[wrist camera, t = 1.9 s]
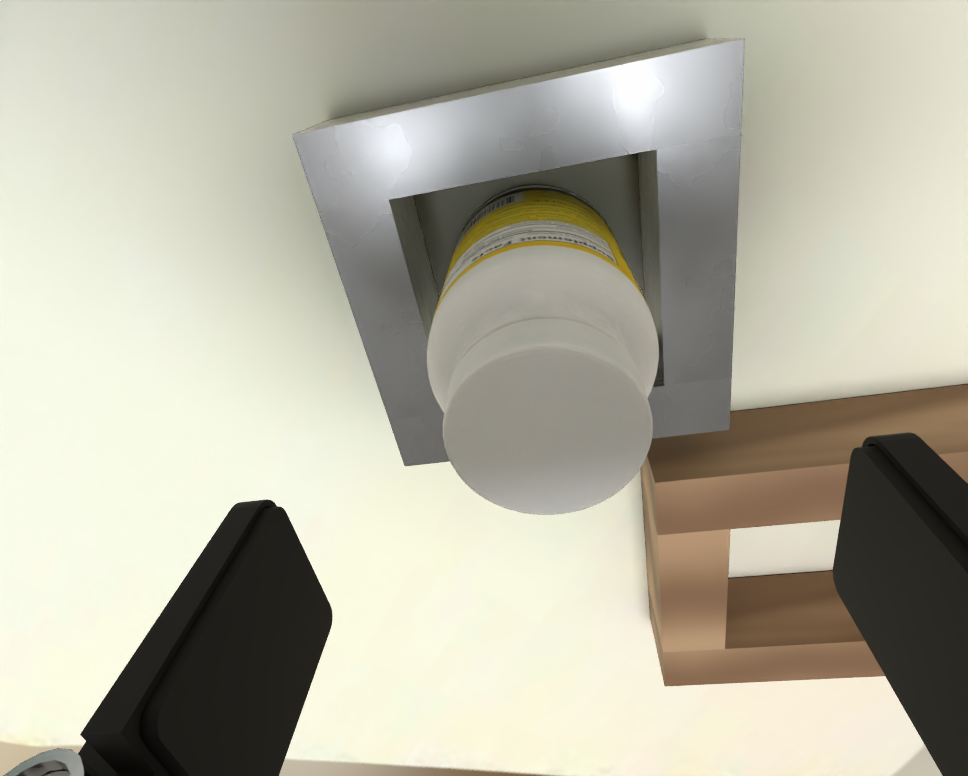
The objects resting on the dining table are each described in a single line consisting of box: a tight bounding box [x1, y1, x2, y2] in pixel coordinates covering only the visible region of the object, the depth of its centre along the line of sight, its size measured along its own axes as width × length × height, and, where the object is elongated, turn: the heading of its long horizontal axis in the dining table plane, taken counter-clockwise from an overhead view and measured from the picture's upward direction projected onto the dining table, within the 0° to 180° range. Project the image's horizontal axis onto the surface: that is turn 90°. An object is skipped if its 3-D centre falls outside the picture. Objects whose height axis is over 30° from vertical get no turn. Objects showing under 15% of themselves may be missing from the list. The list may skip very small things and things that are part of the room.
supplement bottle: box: [427, 185, 659, 515], centre depth 15 cm, size 5×5×10 cm
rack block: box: [641, 384, 968, 686], centre depth 23 cm, size 12×12×4 cm
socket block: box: [293, 38, 744, 466], centre depth 18 cm, size 11×11×3 cm
